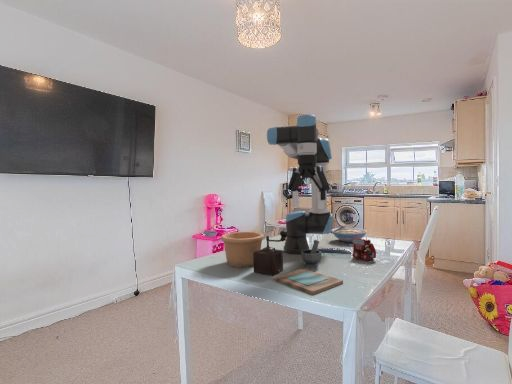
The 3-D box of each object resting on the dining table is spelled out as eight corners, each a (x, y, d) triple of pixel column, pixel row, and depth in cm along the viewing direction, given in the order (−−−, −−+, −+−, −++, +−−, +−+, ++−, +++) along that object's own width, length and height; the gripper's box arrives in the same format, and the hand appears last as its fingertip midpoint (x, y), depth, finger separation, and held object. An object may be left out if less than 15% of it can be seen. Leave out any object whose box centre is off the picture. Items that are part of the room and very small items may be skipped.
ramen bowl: (361, 246, 184) (361, 233, 184) (326, 243, 197) (325, 230, 196) (371, 239, 205) (371, 227, 205) (338, 236, 217) (337, 225, 217)
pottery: (217, 260, 161) (216, 233, 160) (256, 255, 168) (255, 230, 168) (227, 271, 140) (226, 241, 140) (271, 265, 148) (270, 236, 147)
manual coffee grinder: (273, 276, 132) (272, 235, 131) (252, 272, 138) (252, 233, 137) (290, 267, 144) (289, 230, 144) (270, 264, 151) (270, 228, 150)
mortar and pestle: (314, 270, 139) (313, 244, 139) (297, 266, 146) (297, 241, 145) (326, 264, 147) (326, 240, 147) (310, 261, 154) (309, 238, 153)
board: (273, 279, 127) (273, 276, 127) (302, 271, 138) (302, 268, 138) (313, 294, 110) (313, 290, 110) (343, 283, 121) (343, 279, 121)
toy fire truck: (372, 262, 150) (371, 241, 149) (349, 258, 159) (349, 238, 158) (378, 259, 154) (378, 239, 154) (356, 255, 164) (356, 236, 163)
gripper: (278, 156, 127) (279, 206, 128) (326, 151, 108) (326, 210, 108) (291, 157, 132) (292, 205, 133) (338, 152, 112) (339, 208, 113)
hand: (307, 207), depth 120 cm, fingers open, 13 cm apart
